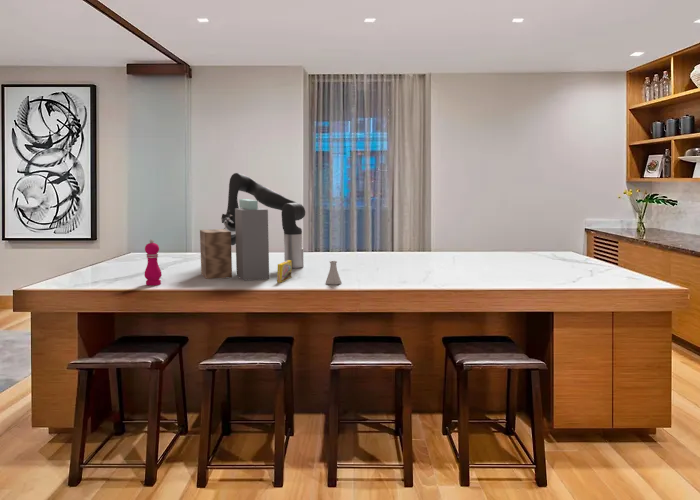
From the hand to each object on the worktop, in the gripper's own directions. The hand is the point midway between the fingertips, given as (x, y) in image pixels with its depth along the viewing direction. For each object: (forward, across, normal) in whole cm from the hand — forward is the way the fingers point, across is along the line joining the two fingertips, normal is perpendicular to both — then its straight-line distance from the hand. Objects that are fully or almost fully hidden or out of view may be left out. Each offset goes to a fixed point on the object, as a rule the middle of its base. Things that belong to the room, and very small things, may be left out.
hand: (238, 211), depth 333 cm
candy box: (+24, +12, +47) cm, 54 cm away
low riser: (+3, -15, +35) cm, 38 cm away
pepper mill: (+15, -45, +42) cm, 63 cm away
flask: (+41, +28, +56) cm, 75 cm away
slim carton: (+23, 0, +10) cm, 25 cm away
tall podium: (+13, 0, +40) cm, 42 cm away
